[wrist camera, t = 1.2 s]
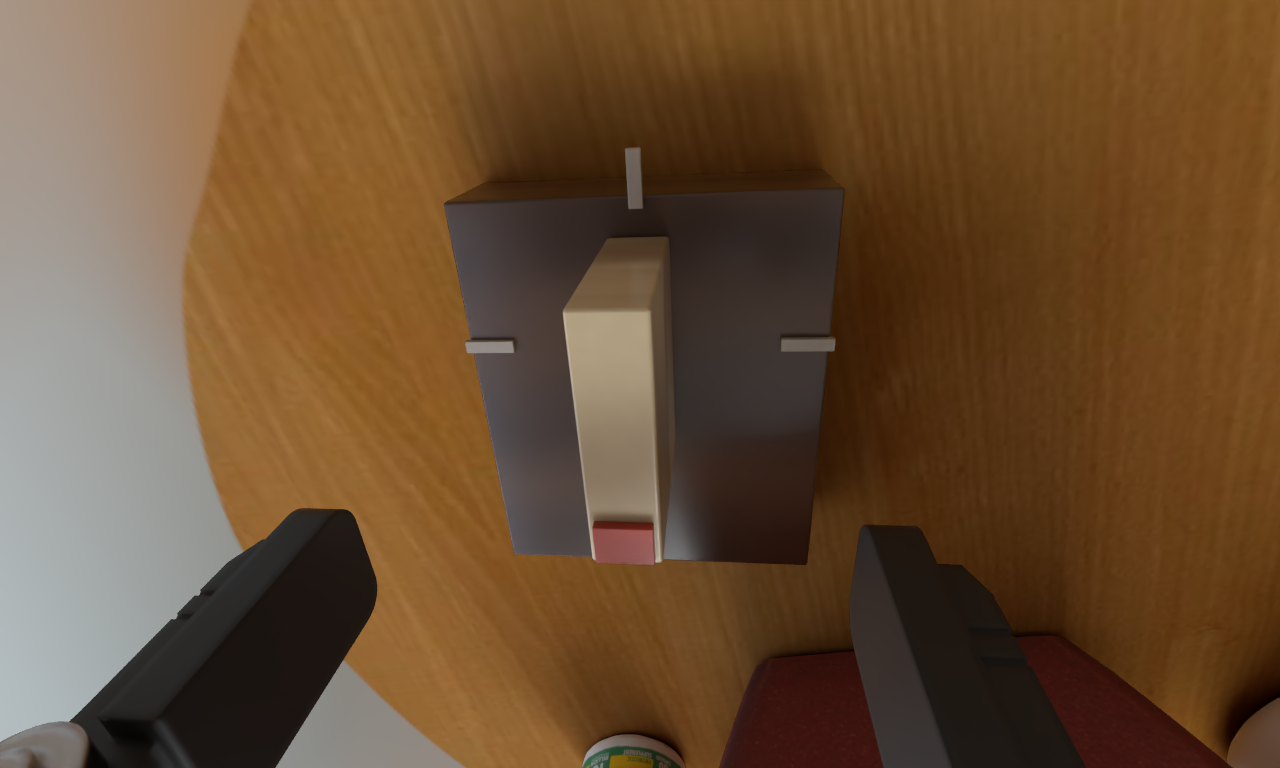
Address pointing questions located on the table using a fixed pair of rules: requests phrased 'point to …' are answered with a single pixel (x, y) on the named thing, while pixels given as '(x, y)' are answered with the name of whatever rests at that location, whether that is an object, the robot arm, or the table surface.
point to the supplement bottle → (631, 753)
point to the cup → (1258, 740)
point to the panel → (702, 347)
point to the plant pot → (845, 738)
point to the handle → (624, 396)
